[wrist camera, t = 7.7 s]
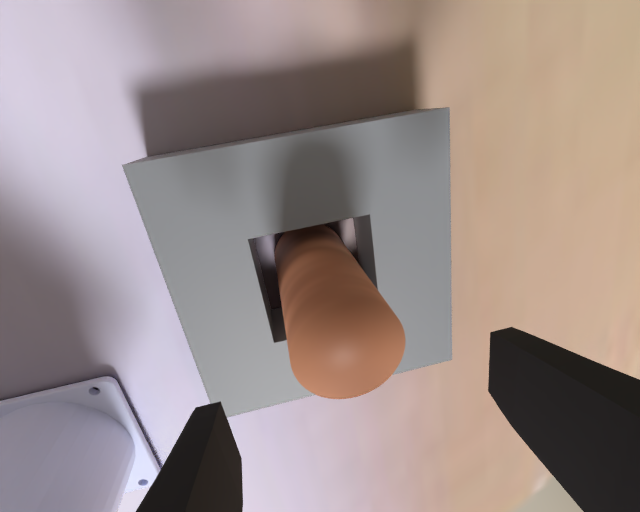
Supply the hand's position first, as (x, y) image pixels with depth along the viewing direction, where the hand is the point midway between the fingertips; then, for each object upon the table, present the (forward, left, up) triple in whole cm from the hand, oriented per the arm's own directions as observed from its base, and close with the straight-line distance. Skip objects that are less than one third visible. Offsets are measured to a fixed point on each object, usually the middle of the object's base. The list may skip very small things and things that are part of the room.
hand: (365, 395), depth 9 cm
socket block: (0, 0, -9) cm, 9 cm away
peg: (0, 0, -9) cm, 9 cm away
